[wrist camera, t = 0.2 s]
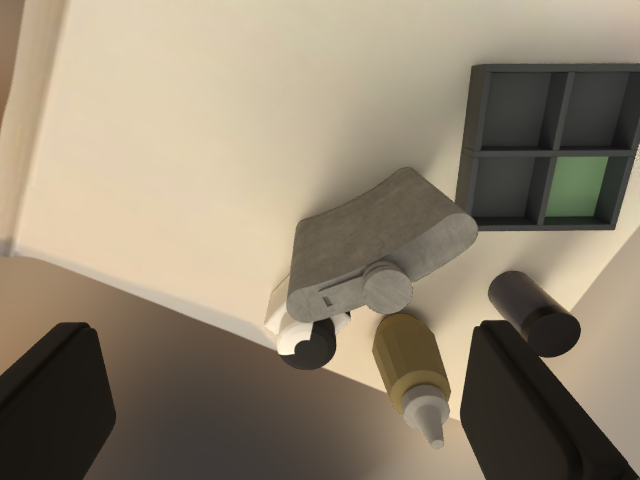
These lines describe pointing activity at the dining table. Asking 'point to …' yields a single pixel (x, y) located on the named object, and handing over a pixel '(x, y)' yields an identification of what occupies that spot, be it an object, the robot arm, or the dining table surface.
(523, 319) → the thermos
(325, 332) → the medicine bottle
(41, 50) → the dining table surface
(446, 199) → the hip flask
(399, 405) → the squeeze bottle
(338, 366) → the dining table surface
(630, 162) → the tray
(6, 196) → the dining table surface
